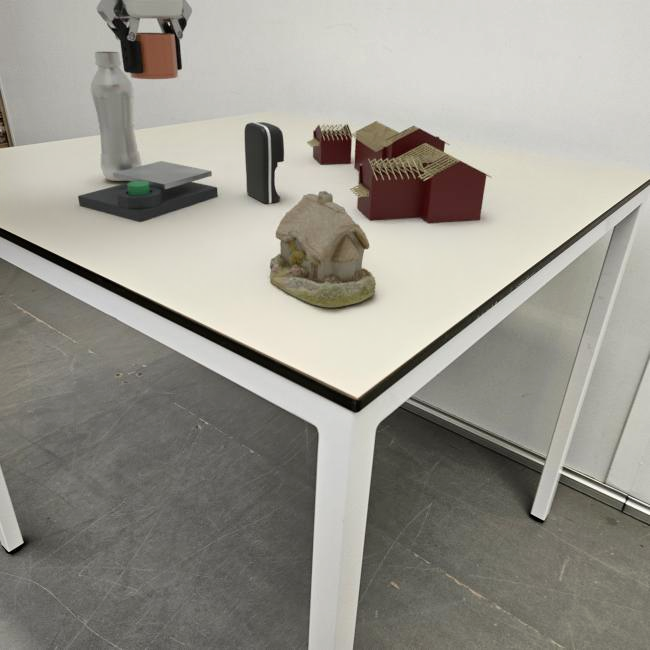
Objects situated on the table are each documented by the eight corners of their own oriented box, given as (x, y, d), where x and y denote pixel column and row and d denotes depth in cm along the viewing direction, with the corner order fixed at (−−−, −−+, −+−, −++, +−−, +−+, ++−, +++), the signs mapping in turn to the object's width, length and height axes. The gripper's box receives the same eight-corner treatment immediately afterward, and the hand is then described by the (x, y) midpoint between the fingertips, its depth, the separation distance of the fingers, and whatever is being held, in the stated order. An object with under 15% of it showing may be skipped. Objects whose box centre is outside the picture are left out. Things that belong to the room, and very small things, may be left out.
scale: (140, 222, 83) (137, 200, 82) (79, 206, 90) (75, 184, 88) (218, 197, 95) (216, 177, 94) (159, 184, 102) (157, 164, 100)
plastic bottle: (96, 179, 103) (76, 51, 94) (133, 173, 107) (118, 50, 98) (113, 187, 99) (94, 54, 90) (150, 181, 103) (136, 53, 94)
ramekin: (153, 80, 81) (148, 35, 79) (120, 76, 85) (115, 33, 82) (187, 76, 86) (184, 34, 84) (155, 73, 89) (151, 32, 87)
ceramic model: (251, 268, 70) (248, 182, 65) (334, 252, 75) (336, 172, 70) (311, 317, 59) (313, 219, 55) (402, 294, 65) (411, 203, 60)
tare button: (138, 198, 84) (137, 187, 83) (124, 195, 85) (122, 184, 85) (155, 193, 86) (153, 183, 85) (140, 190, 88) (139, 179, 87)
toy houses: (496, 218, 89) (508, 148, 84) (364, 226, 84) (368, 153, 80) (392, 153, 127) (396, 102, 123) (297, 156, 123) (297, 103, 118)
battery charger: (287, 202, 94) (287, 126, 88) (265, 205, 92) (264, 128, 87) (266, 191, 99) (265, 119, 94) (245, 194, 97) (242, 120, 92)
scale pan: (165, 189, 87) (164, 184, 87) (113, 177, 92) (112, 172, 92) (212, 176, 94) (211, 170, 94) (161, 165, 100) (161, 160, 99)
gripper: (167, -73, 85) (179, 65, 93) (60, -88, 72) (85, 73, 80) (207, -75, 81) (215, 68, 90) (102, -92, 68) (123, 77, 77)
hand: (153, 69), depth 85 cm, fingers closed on ramekin, 6 cm apart
